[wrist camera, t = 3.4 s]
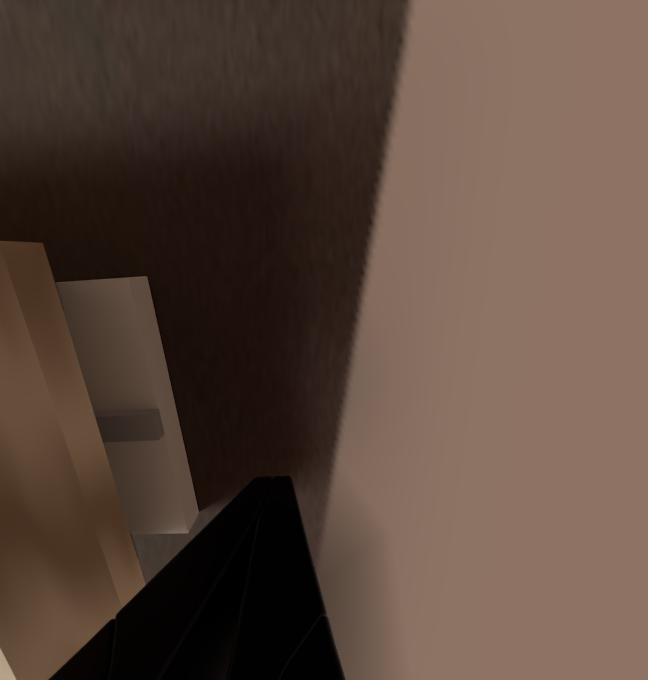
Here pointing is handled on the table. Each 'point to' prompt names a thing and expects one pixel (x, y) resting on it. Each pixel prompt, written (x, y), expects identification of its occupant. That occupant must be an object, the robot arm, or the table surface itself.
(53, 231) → the table surface
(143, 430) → the track
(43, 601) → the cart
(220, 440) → the table surface
